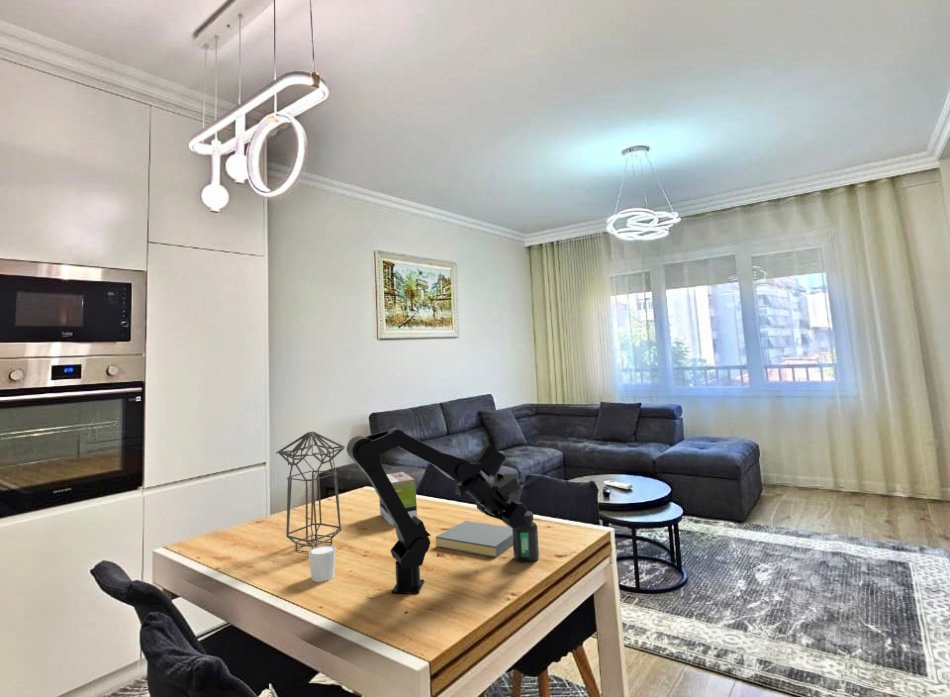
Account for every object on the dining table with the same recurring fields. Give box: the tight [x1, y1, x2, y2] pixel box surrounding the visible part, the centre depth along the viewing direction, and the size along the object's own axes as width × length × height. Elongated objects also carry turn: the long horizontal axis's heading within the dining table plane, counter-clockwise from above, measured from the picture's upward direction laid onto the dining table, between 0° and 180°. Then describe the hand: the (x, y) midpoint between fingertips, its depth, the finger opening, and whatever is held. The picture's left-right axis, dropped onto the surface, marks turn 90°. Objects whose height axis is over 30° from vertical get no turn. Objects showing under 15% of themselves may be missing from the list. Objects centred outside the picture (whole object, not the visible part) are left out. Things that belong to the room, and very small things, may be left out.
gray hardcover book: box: [435, 520, 513, 558], centre depth 145 cm, size 16×20×3 cm
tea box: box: [378, 471, 418, 526], centre depth 175 cm, size 15×10×15 cm
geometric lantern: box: [275, 431, 346, 554], centre depth 149 cm, size 16×16×35 cm
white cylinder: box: [307, 545, 337, 583], centre depth 126 cm, size 7×7×7 cm
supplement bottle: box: [512, 510, 540, 563], centre depth 132 cm, size 7×7×12 cm
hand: (521, 525), depth 132 cm, fingers open, 9 cm apart
